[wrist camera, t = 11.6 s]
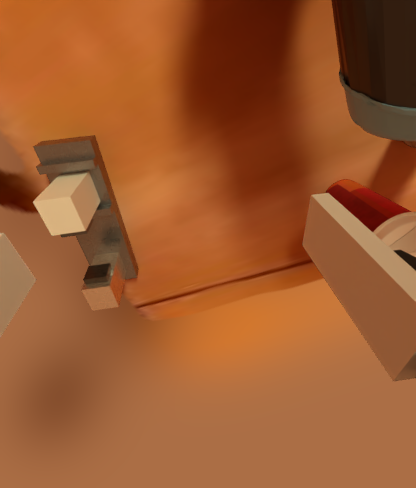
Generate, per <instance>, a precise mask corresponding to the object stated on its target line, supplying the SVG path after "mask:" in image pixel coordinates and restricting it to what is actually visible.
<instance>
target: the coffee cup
mask: <svg viewBox="0 0 416 488" xmlns="http://www.w3.org/2000/svg"><path fill="white" fill-rule="evenodd" d="M326 193H329V194H330V195H331V196H332V197H333V198H335V199H336V200H337V201H338V202H339V203H340V204H341V205H342V206H344V207H345V208H346V209H347V210H348V211H349V212H350V213H351V214H353V215H354V216H355V217H356V218H357V219H358V220H359V221H360V222H362V223H363V224H364V225H365V226H366V227H367V228H368V229H369V230H370V231H372V232H373V233H374V234H375V235H376V236H377V237H378V238H379V239H381V240H382V241H383V242H384V243H385V244H386V245H387V246H388V247H390V248H391V249H392V250H402V251H404V252H406V253H408V254H410V255H412V256H414V257H416V212H411V211H409V210H407V209H406V208H404V207H402V206H400V205H398V204H396V203H394V202H392V201H391V200H389V199H387V198H385V197H383V196H381V195H379V194H377V193H376V192H374V191H372V190H370V189H368V188H366V187H364V186H362V185H360V184H358V183H356V182H354V181H352V180H348V179H344V180H340V181H337V182H336V183H334V184H333V185H331V186H330V187H329V188H328V190H327V191H326Z"/></svg>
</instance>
